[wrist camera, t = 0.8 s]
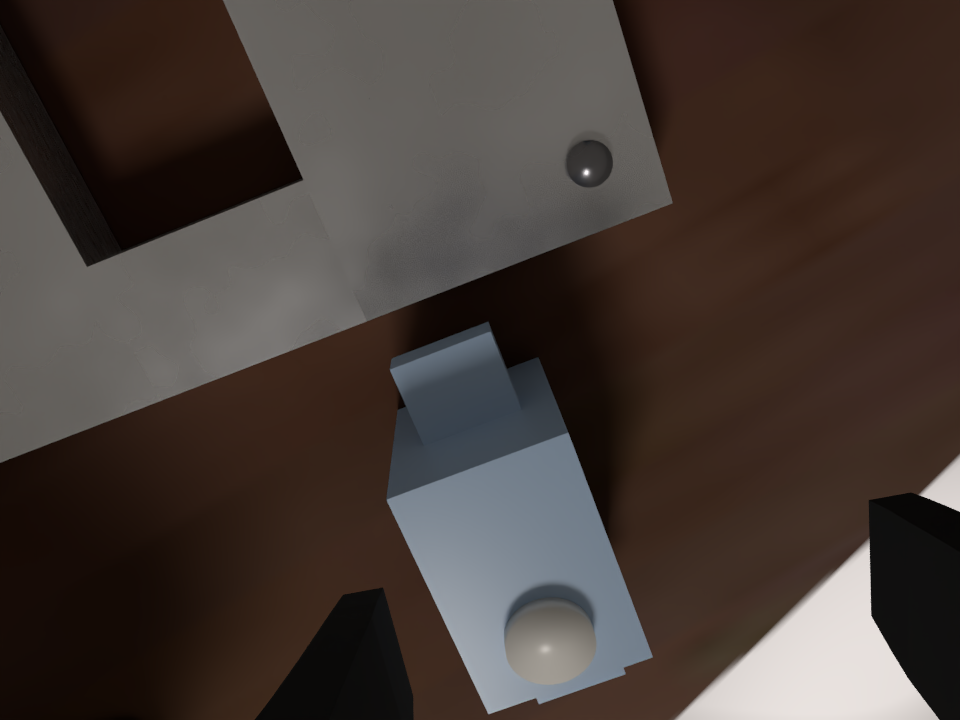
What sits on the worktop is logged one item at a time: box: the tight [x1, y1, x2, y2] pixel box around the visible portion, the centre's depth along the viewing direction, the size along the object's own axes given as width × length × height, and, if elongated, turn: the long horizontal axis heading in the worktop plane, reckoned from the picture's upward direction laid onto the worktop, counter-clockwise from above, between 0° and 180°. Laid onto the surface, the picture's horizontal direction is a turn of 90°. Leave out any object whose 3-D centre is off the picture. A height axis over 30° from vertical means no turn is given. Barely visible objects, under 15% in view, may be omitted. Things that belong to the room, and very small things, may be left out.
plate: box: [0, 0, 673, 463], centre depth 17 cm, size 20×14×2 cm
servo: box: [386, 322, 653, 714], centre depth 19 cm, size 4×10×5 cm, turn 21°
